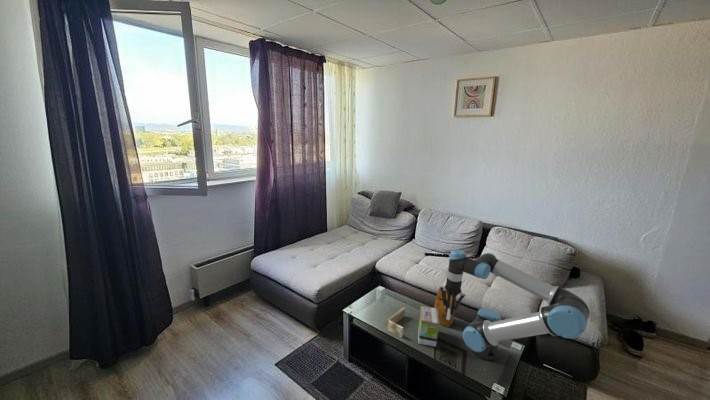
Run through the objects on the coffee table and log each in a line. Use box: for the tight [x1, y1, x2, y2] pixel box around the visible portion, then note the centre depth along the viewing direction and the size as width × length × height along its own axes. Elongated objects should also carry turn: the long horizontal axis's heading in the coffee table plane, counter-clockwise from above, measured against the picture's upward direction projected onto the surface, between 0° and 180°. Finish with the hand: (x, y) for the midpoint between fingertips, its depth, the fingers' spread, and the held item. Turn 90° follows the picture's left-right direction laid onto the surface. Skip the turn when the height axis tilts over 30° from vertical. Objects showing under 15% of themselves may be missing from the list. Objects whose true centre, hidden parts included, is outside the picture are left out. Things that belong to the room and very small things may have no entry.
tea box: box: [417, 305, 440, 348], centre depth 164 cm, size 15×10×15 cm
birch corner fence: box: [384, 306, 406, 338], centre depth 173 cm, size 11×19×6 cm, turn 140°
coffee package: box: [433, 285, 457, 328], centre depth 179 cm, size 10×12×22 cm
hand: (448, 318), depth 155 cm, fingers closed
